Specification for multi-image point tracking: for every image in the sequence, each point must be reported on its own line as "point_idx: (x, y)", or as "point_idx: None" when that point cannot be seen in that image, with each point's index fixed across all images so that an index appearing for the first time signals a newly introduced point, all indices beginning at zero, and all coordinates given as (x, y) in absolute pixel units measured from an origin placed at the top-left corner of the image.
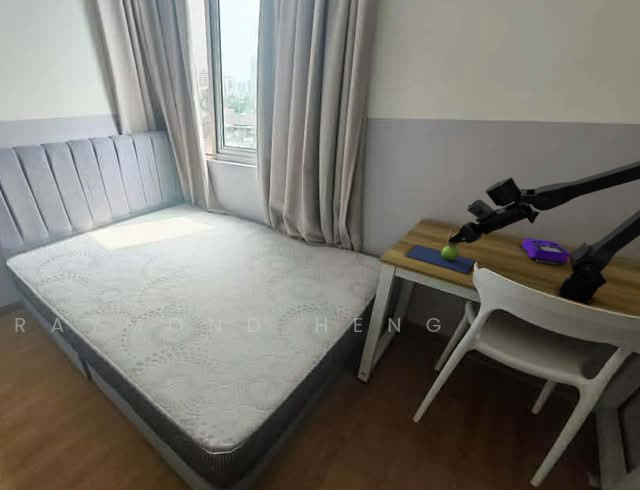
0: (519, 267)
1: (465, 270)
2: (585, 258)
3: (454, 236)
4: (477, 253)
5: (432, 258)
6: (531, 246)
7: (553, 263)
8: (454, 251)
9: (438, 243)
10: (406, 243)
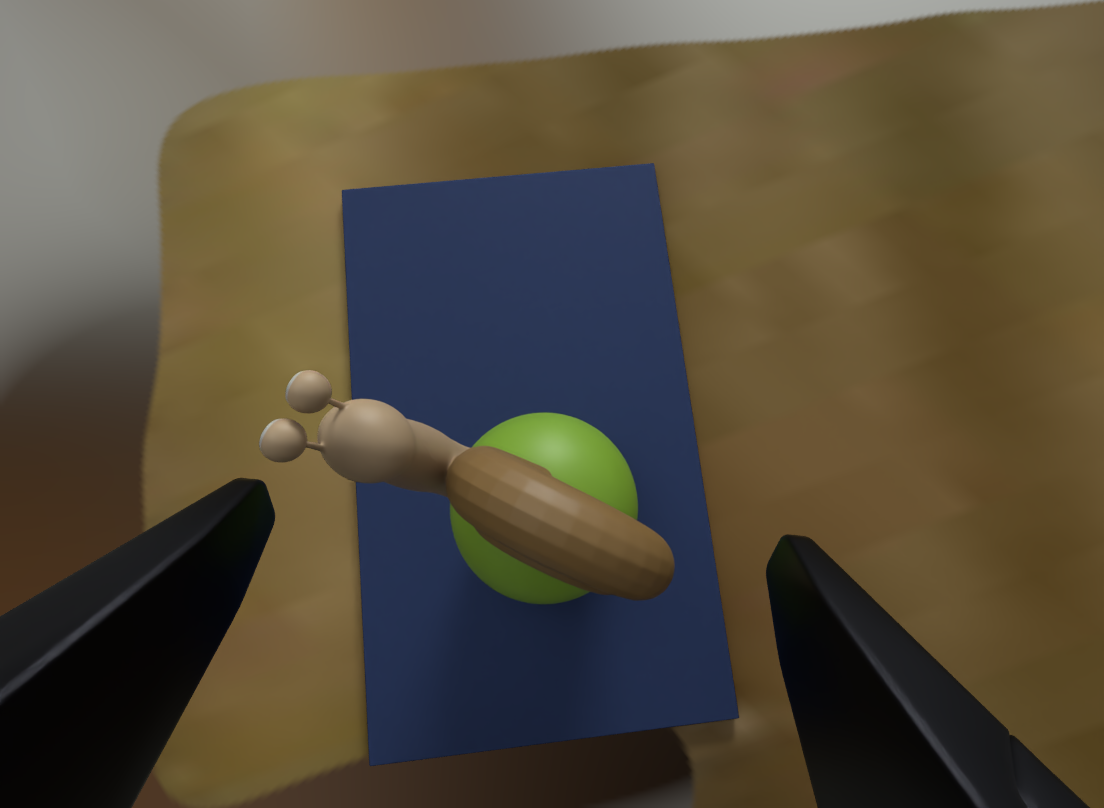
0: None
1: (416, 734)
2: None
3: (38, 610)
4: (955, 663)
5: (458, 386)
6: None
7: None
8: (485, 566)
9: (877, 284)
10: (630, 78)
